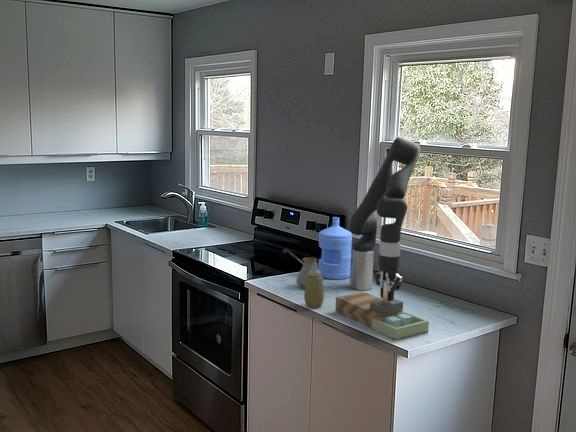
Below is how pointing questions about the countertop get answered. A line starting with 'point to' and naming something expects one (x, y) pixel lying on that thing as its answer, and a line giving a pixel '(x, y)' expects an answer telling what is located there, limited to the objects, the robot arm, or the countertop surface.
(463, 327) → the countertop surface
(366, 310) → the flat wooden board
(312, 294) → the squeeze bottle
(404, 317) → the light blue block
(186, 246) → the countertop surface
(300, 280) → the coffee pot
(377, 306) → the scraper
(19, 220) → the countertop surface
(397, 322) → the pale blue cube
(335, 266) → the water jug
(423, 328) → the bin
